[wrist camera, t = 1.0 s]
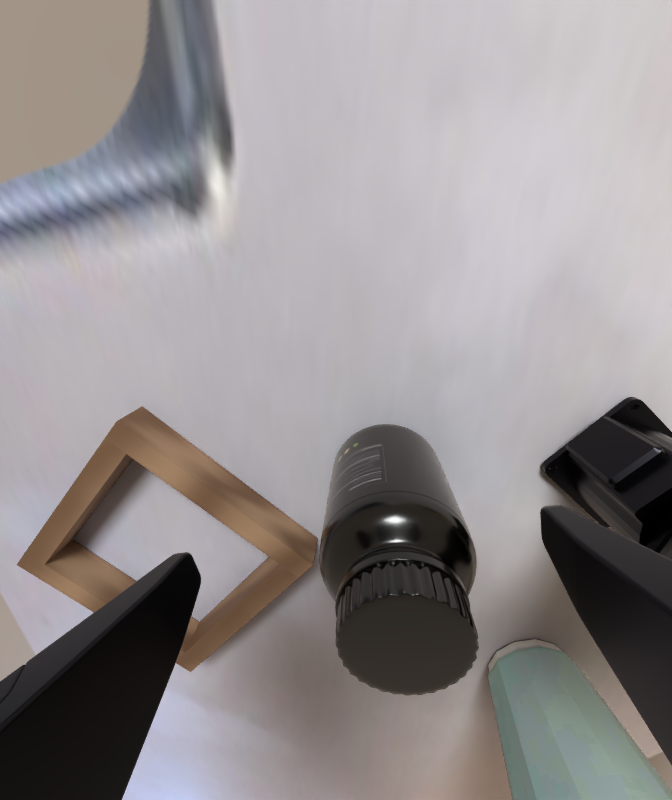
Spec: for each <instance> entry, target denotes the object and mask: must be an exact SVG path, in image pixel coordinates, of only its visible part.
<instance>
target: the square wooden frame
mask: <svg viewBox="0 0 672 800" xmlns="http://www.w3.org/2000/svg"><path fill="white" fill-rule="evenodd" d="M132 459H134V460H135V461H137V462H138V463H140V464H141V465H142V466H144V467H145V468H147V469H148V470H149V471H151V472H152V473H154V474H155V475H156V476H158V477H159V478H160V479H162V480H163V481H165V482H166V483H167V484H169V485H170V486H172V487H173V488H174V489H176V490H177V491H179V492H180V493H181V494H183V495H184V496H186V497H187V498H188V499H190V500H191V501H193V502H194V503H195V504H197V505H198V506H199V507H201V508H202V509H204V510H205V511H206V512H208V513H209V514H211V515H212V516H213V517H215V518H216V519H218V520H219V521H220V522H222V523H223V524H225V525H226V526H227V527H229V528H230V529H232V530H233V531H234V532H236V533H237V534H238V535H240V536H241V537H243V538H244V539H245V540H247V541H248V542H250V543H251V544H252V545H254V546H255V547H257V548H258V549H259V550H261V551H262V552H264V553H265V554H266V555H268V556H269V557H268V558H267V559H266V560H265V561H264V562H263V563H262V564H261V565H260V566H259V567H258V568H257V569H256V570H255V571H253V572H252V573H251V574H250V575H249V576H248V577H247V578H246V579H245V580H244V581H243V582H242V583H241V584H240V585H239V586H237V587H236V588H235V589H234V590H233V591H232V592H231V593H230V594H229V595H228V596H227V597H226V598H225V599H224V600H223V601H222V602H220V603H219V604H218V605H217V606H216V607H215V608H214V609H213V610H212V611H211V612H210V613H209V614H208V615H207V616H206V617H204V618H203V619H202V620H201V621H200V622H198V621H197V620H195V619H194V618H192V617H191V619H190V622H189V625H188V629H187V632H186V635H185V638H184V641H183V644H182V647H181V650H180V653H179V655H178V658H177V660H176V663H177V664H178V665H180V666H182V667H183V668H185V669H187V670H188V671H190V672H191V671H192V670H193V669H195V668H196V667H197V666H198V665H199V664H200V663H202V662H203V661H204V660H205V659H206V658H207V657H208V656H210V655H211V654H212V653H213V652H214V651H215V650H216V649H218V648H219V647H220V646H221V645H222V644H223V643H224V642H226V641H227V640H228V639H229V638H230V637H231V636H232V635H234V634H235V633H236V632H237V631H238V630H239V629H240V628H242V627H243V626H244V625H245V624H246V623H247V622H248V621H250V620H251V619H252V618H253V617H254V616H255V615H257V614H258V613H259V612H260V611H261V610H262V609H263V608H265V607H266V606H267V605H268V604H269V603H270V602H271V601H273V600H274V599H275V598H276V597H277V596H278V595H279V594H281V593H282V592H283V591H284V590H285V589H286V588H287V587H289V586H290V585H291V584H292V583H293V582H294V581H295V580H297V579H298V578H299V577H300V576H301V575H302V574H303V573H305V572H306V571H307V570H308V569H309V568H310V567H311V566H313V562H314V556H315V550H316V544H317V539H318V538H316V537H315V536H314V535H312V534H311V533H310V532H308V531H307V530H306V529H304V528H303V527H302V526H300V525H299V524H298V523H296V522H295V521H294V520H292V519H291V518H290V517H288V516H287V515H286V514H284V513H283V512H282V511H281V510H279V509H278V508H277V507H275V506H274V505H273V504H271V503H270V502H269V501H267V500H266V499H265V498H263V497H262V496H261V495H259V494H258V493H257V492H255V491H254V490H253V489H251V488H250V487H249V486H247V485H246V484H245V483H243V482H242V481H241V480H239V479H238V478H237V477H235V476H234V475H233V474H231V473H230V472H229V471H227V470H226V469H225V468H223V467H222V466H221V465H219V464H218V463H217V462H215V461H214V460H213V459H211V458H210V457H209V456H207V455H206V454H205V453H203V452H202V451H201V450H199V449H198V448H197V447H195V446H194V445H193V444H191V443H190V442H189V441H187V440H186V439H185V438H183V437H182V436H181V435H179V434H178V433H177V432H175V431H174V430H173V429H171V428H170V427H169V426H167V425H166V424H165V423H163V422H162V421H161V420H159V419H158V418H157V417H155V416H154V415H153V414H151V413H150V412H149V411H147V410H146V409H145V408H144V407H140V408H139V409H137V410H135V411H134V412H132V413H130V414H128V415H127V416H125V417H123V418H122V419H120V420H118V421H117V422H116V423H115V425H114V426H113V427H112V429H111V430H110V432H109V433H108V435H107V436H106V437H105V439H104V440H103V442H102V443H101V445H100V446H99V447H98V449H97V450H96V452H95V453H94V455H93V456H92V458H91V459H90V460H89V462H88V463H87V465H86V466H85V468H84V469H83V470H82V472H81V473H80V475H79V476H78V478H77V479H76V480H75V482H74V483H73V485H72V486H71V488H70V489H69V491H68V492H67V493H66V495H65V496H64V498H63V499H62V501H61V502H60V503H59V505H58V506H57V508H56V509H55V511H54V512H53V513H52V515H51V516H50V518H49V519H48V521H47V522H46V523H45V525H44V526H43V528H42V529H41V531H40V532H39V534H38V535H37V536H36V538H35V539H34V541H33V542H32V544H31V545H30V546H29V548H28V549H27V551H26V552H25V554H24V555H23V556H22V558H21V559H20V561H19V562H18V564H17V565H18V566H20V567H21V568H23V569H24V570H26V571H28V572H29V573H31V574H33V575H34V576H36V577H37V578H39V579H41V580H42V581H44V582H45V583H47V584H49V585H50V586H52V587H54V588H55V589H57V590H58V591H60V592H62V593H63V594H65V595H67V596H68V597H70V598H71V599H73V600H75V601H76V602H78V603H80V604H81V605H83V606H84V607H86V608H88V609H89V610H91V611H93V612H96V611H97V610H98V609H100V608H101V607H103V606H104V605H105V604H107V603H108V602H109V601H111V600H112V599H113V598H115V597H116V596H118V595H119V594H120V593H122V592H123V591H124V590H126V589H127V588H128V587H130V586H131V585H133V584H134V583H135V582H137V581H135V580H134V579H132V578H130V577H129V576H127V575H126V574H124V573H123V572H121V571H120V570H118V569H117V568H115V567H114V566H112V565H110V564H109V563H107V562H106V561H104V560H103V559H101V558H100V557H98V556H97V555H95V554H94V553H92V552H90V551H89V550H87V549H86V548H84V547H83V546H81V545H80V544H78V543H77V542H75V541H73V540H72V539H73V538H74V537H75V535H76V534H77V533H78V531H79V530H80V529H81V527H82V526H83V525H84V523H85V522H86V521H87V519H88V518H89V517H90V515H91V514H92V513H93V511H94V510H95V509H96V507H97V506H98V505H99V503H100V502H101V501H102V499H103V498H104V497H105V495H106V494H107V493H108V491H109V490H110V489H111V487H112V486H113V485H114V483H115V482H116V481H117V479H118V478H119V477H120V475H121V474H122V473H123V471H124V470H125V469H126V467H127V466H128V465H129V463H130V462H131V461H132Z"/></svg>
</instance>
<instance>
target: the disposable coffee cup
mask: <svg viewBox="0 0 672 800" xmlns="http://www.w3.org/2000/svg"><path fill="white" fill-rule="evenodd" d="M488 666H489V674H488V680H489V685H490V691H491V696H492V701H493V706H494V711H495V715H496V720H497V725H498V730H499V735H500V740H501V745H502V750H503V755H504V760H505V764H506V769H507V774H508V779H509V784H510V789H511V794H512V799H513V800H672V791H671V790H670V789H669V787H668V786H667V785H666V783H665V782H664V781H663V779H662V778H661V777H660V775H659V774H658V773H657V771H656V770H655V769H654V767H653V766H652V765H651V763H650V762H649V760H648V759H647V758H646V756H645V755H644V754H643V752H642V751H641V750H640V748H639V747H638V746H637V744H636V743H635V742H634V740H633V739H632V738H631V736H630V735H629V734H628V732H627V731H626V730H625V728H624V727H623V726H622V724H621V723H620V722H619V720H618V719H617V718H616V716H615V715H614V714H613V712H612V711H611V710H610V708H609V707H608V706H607V704H606V703H605V702H604V700H603V699H602V698H601V696H600V695H599V694H598V692H597V691H596V690H595V688H594V687H593V686H592V684H591V683H590V682H589V680H588V679H587V678H586V676H585V675H584V674H583V672H582V671H581V670H580V668H579V667H578V665H577V664H576V663H575V662H574V661H573V660H572V659H570V658H569V657H568V656H567V655H566V654H565V653H564V652H563V651H562V650H560V649H559V648H558V647H557V646H556V645H555V644H552V643H548V642H544V641H540V640H536V639H533V640H526V641H518V642H513V643H511V644H509V645H508V646H506V647H504V648H502V649H500V650H499V651H497V652H496V653H495V655H494V657H493V658H492V660H491V661H490V663H489V665H488Z"/></svg>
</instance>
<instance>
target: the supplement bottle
mask: <svg viewBox="0 0 672 800" xmlns="http://www.w3.org/2000/svg"><path fill="white" fill-rule="evenodd" d="M319 562H320V570H321V575H322V578H323V581H324V583H325V585H326V588H327V589H328V591H329V593H330V595H331V596H332V598H333V599H334V600H335V602H336V607H335V608H336V617H337V622H336V647H337V649H338V655H339V657H340V658H341V659H342V660H343V665H344V666H345V667H346V668H348V669H349V672H350V674H352V675H354V676H356V677H357V678H358V680H359V681H361V682H364V683H366V684H367V685H369V686H370V687H373V688H377V689H379V690H380V691H384V692H390V693H393V694H404V695H413V694H416V695H422V694H425V693H434V692H436V691H437V690H440V689H446V688H447V687H448V686H449V685H451V684H455V683H456V682H457V681H458V680H459V679H460V678H462V677H464V676H465V675H466V673H467V671H468V670H469V669H471V668H472V663H473V662H474V661H475V659H476V658H477V656H476V652H477V650H478V648H479V647H478V641H477V639H478V634H477V630H476V627H475V624H474V621H473V618H472V614H471V611H470V603H469V599H468V594H469V593H470V591H471V588H472V586H473V583H474V579H475V575H476V567H477V558H476V551H475V547H474V544H473V541H472V538H471V535H470V533H469V530H468V528H467V525H466V523H465V521H464V518H463V516H462V514H461V511H460V509H459V507H458V504H457V502H456V500H455V497H454V495H453V493H452V490H451V488H450V486H449V483H448V481H447V479H446V476H445V474H444V472H443V469H442V467H441V465H440V462H439V460H438V458H437V456H436V454H435V452H434V450H433V449H432V447H431V446H430V444H429V443H428V442H427V441H426V440H425V439H424V438H423V437H422V436H420V435H419V434H417V433H416V432H414V431H412V430H410V429H408V428H405V427H402V426H397V425H390V424H383V425H375V426H371V427H367V428H365V429H362V430H360V431H358V432H357V433H355V434H354V435H352V436H351V437H350V438H349V439H348V440H347V441H346V442H345V443H344V444H343V445H342V447H341V448H340V450H339V452H338V454H337V456H336V459H335V462H334V467H333V472H332V478H331V484H330V490H329V496H328V502H327V508H326V514H325V520H324V526H323V532H322V538H321V544H320V556H319Z"/></svg>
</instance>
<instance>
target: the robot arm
mask: <svg viewBox="0 0 672 800" xmlns="http://www.w3.org/2000/svg"><path fill="white" fill-rule="evenodd" d="M632 404H634V407H633V408H631V409H630V406H631V405H632ZM551 466H554V468H552V469H549V468H550V467H551ZM542 469H543V471H544V472H545V473H546V474H547V475H548V476H549V477H550V478H551V479H552V480H553V481H555V482H556V483H557V484H558V485H559V486H560V487H561V488H562V489H563V490H564V491H565V492H566V493H567V494H569V495H570V496H571V497H572V498H573V499H574V500H575V501H576V502H577V503H578V504H579V505H580V506H581V507H583V508H584V509H585V510H586V511H587V512H588V513H589V514H590V515H591V516H592V517H593V518H594V519H595V520H597V521H598V522H599V523H600V524H601V525H600V524H598V523H596V522H594V521H592V520H590V519H588V518H586V517H584V516H582V515H580V514H578V513H576V512H574V511H572V510H570V509H568V508H566V507H564V506H562V505H553V506H545V507H543V508H542V509H541V512H540V514H541V533H542V540H543V543H544V546H545V548H546V550H547V552H548V554H549V556H550V558H551V560H552V562H553V564H554V566H555V568H556V571H557V573H558V575H559V577H560V579H561V581H562V583H563V585H564V587H565V589H566V591H567V593H568V595H569V597H570V599H571V601H572V603H573V605H574V607H575V609H576V611H577V613H578V614H579V616H580V618H581V620H582V621H583V623H584V625H585V626H586V628H587V629H588V631H589V633H590V634H591V636H592V637H593V639H594V641H595V642H596V644H597V646H598V647H599V649H600V650H601V652H602V654H603V655H604V657H605V658H606V660H607V662H608V663H609V665H610V667H611V668H612V670H613V671H614V673H615V675H616V676H617V678H618V679H619V681H620V683H621V684H622V686H623V687H624V689H625V691H626V692H627V694H628V696H629V697H630V699H631V700H632V702H633V704H634V705H635V707H636V708H637V710H638V712H639V713H640V715H641V717H642V718H643V720H644V721H645V723H646V725H647V726H648V728H649V729H650V731H651V733H652V734H653V736H654V737H655V739H656V741H657V742H658V744H659V746H660V747H661V749H662V750H663V752H664V754H665V755H666V757H667V758H668V760H669V762H670V763H671V765H672V432H671V431H670V430H669V429H668V428H667V427H666V426H665V425H664V423H663V422H662V421H661V420H660V419H659V418H658V417H657V416H656V415H655V414H654V413H653V412H652V411H651V410H650V409H649V408H648V407H647V405H646V404H645V403H644V402H643V401H641V400H639V399H637V398H635V397H629V398H626V399H624V400H623V401H622V402H621V403H619V404H618V405H617V406H615V407H614V408H613V409H611V410H610V411H609V412H608V413H606V414H605V415H604V416H602V417H601V418H600V419H599V420H597V421H596V422H595V423H593V424H592V425H591V426H590V427H588V428H587V429H586V430H584V431H583V432H582V433H580V434H579V435H578V436H577V437H575V438H574V439H573V440H571V441H570V442H569V443H568V444H566V445H565V446H564V447H562V448H561V449H560V450H558V451H557V452H556V453H555V454H553V455H552V456H551V457H549V458H548V459H547V460H546V461H544V463H543V464H542ZM606 527H611V528H612V529H613V530H614V531H615V532H614V531H612V530H610V529H608V528H606ZM200 584H201V576H200V573H199V571H198V568H197V566H196V564H195V561H194V559H193V557H192V555H191V554H190V553H187V552H185V553H178V554H174V555H172V556H171V557H169V558H168V559H167V560H165V561H164V562H162V563H161V564H160V565H158V566H157V567H156V568H154V569H153V570H152V571H150V572H149V573H147V574H146V575H145V576H143V577H142V578H141V579H139V580H138V581H137V582H135V583H134V584H133V585H131V586H130V587H128V588H127V589H126V590H124V591H123V592H122V593H120V594H119V595H118V596H116V597H115V598H113V599H112V600H111V601H109V602H108V603H107V604H105V605H104V606H103V607H101V608H100V609H98V610H97V611H96V612H94V613H93V614H92V615H90V616H89V617H88V618H86V619H85V620H84V621H82V622H81V623H79V624H78V625H77V626H75V627H74V628H73V629H71V630H70V631H69V632H67V633H66V634H64V635H63V636H62V637H60V638H59V639H58V640H56V641H55V642H54V643H52V644H51V645H49V646H48V647H47V648H45V649H44V650H43V651H41V652H40V653H39V654H37V655H36V656H35V657H33V658H32V659H30V660H29V661H28V662H27V663H26V665H22V666H21V667H19V668H18V669H17V670H15V671H14V672H13V673H11V674H10V675H9V676H7V677H6V678H4V679H3V680H2V681H0V800H122V798H123V795H124V793H125V790H126V787H127V785H128V782H129V780H130V777H131V775H132V772H133V770H134V767H135V765H136V762H137V760H138V757H139V754H140V752H141V749H142V747H143V744H144V742H145V739H146V737H147V734H148V732H149V729H150V727H151V724H152V721H153V719H154V716H155V714H156V711H157V709H158V706H159V704H160V701H161V699H162V696H163V693H164V691H165V688H166V686H167V683H168V681H169V678H170V676H171V673H172V671H173V668H174V666H175V663H176V660H177V658H178V655H179V653H180V650H181V647H182V644H183V641H184V638H185V635H186V632H187V629H188V625H189V622H190V619H191V615H192V612H193V608H194V605H195V602H196V598H197V595H198V592H199V588H200Z"/></svg>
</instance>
